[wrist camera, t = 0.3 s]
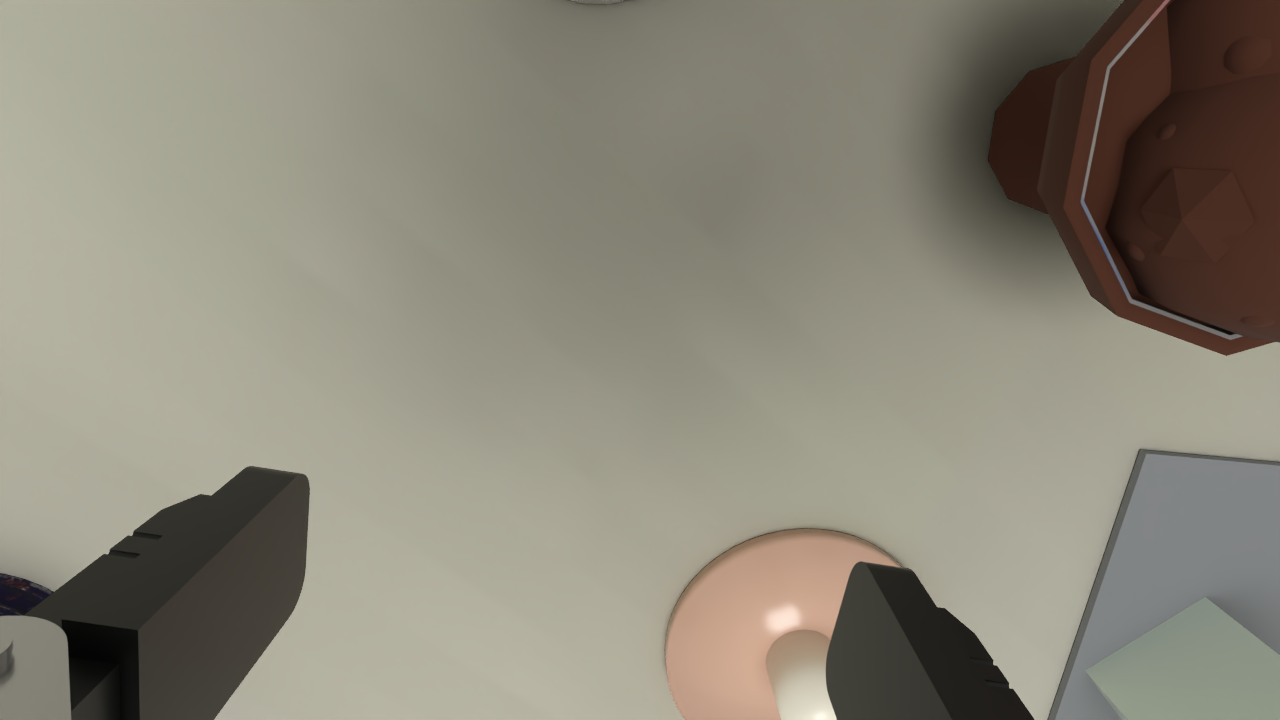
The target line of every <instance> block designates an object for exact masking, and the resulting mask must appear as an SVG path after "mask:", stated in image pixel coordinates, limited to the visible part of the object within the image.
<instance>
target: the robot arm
mask: <svg viewBox="0 0 1280 720" xmlns="http://www.w3.org/2000/svg"><path fill="white" fill-rule="evenodd" d="M570 1H574V2H578V3H582V4H613V3H617V2H622V1H626V0H570ZM309 495H310V488H309V481H308V478H307V477H306V475H304V474H300V473H293V472H287V471H280V470H274V469H267V468H261V467H254V466H249V467H246V468H245V469H243V470H242V471H241V472H240V473H239V474H237V475H236V476H235V477H234V478H233V479H231V480H230V481H229V482H228V483H226V484H225V485H224V486H223V487H222V488H220V489H219V490H218V491H217V492H215V493H214V494H213V495H212V496H209V495H202V494H200V495H197V496H195V497H192V498H190V499H187V500H185V501H182V502H180V503H177V504H175V505H172V506H170V507H168V508H165V509H163V510H161V511H159V512H158V513H157V514H156V515H154V516H153V517H152V518H150V519H149V520H148V521H146V522H145V523H144V524H142V525H141V526H140V527H139V528H137V529H136V530H135V531H134V533H133V535H132V536H127V537H125V538H124V539H123V540H122V541H120V542H119V543H118V544H116V545H115V546H114V547H112V548H111V549H110V552H109V554H108V555H107V554H103V555H102V556H101V557H99V558H98V559H97V560H95V561H94V562H93V563H92V564H90V565H89V566H88V567H86V568H85V569H84V570H82V571H81V572H80V573H78V574H77V575H76V576H75V577H73V578H72V579H71V580H69V581H68V582H67V583H65V584H64V585H63V586H61V587H60V588H59V589H58V590H56V591H55V592H54V593H52V594H51V595H50V596H48V597H47V598H46V599H44V600H43V601H42V602H41V603H39V604H38V605H37V606H35V607H34V608H33V609H31V610H30V611H29V612H27V613H26V614H25V615H24V616H0V720H214V719H215V717H216V716H217V714H218V713H219V712H220V710H221V709H222V708H223V706H224V705H225V704H226V702H227V701H228V700H229V698H230V697H231V695H232V694H233V693H234V691H235V690H236V689H237V687H238V686H239V685H240V683H241V682H242V681H243V679H244V678H245V676H246V675H247V674H248V672H249V671H250V670H251V668H252V667H253V666H254V664H255V663H256V662H257V660H258V659H259V657H260V656H261V655H262V653H263V652H264V651H265V649H266V648H267V647H268V645H269V644H270V643H271V641H272V640H273V639H274V637H275V636H276V634H277V633H278V632H279V630H280V629H281V628H282V626H283V625H284V624H285V622H286V621H287V620H288V618H289V617H290V615H291V614H292V612H293V610H294V608H295V606H296V604H297V601H298V599H299V596H300V593H301V590H302V586H303V582H304V577H305V568H306V550H307V532H308V513H309ZM826 685H827V691H828V695H829V698H830V701H831V704H832V707H833V710H834V713H835V715H836V718H837V720H1034V718H1033V717H1032V715H1031V714H1030V713H1029V711H1028V710H1027V708H1026V707H1025V705H1024V704H1023V702H1022V701H1021V700H1020V698H1019V697H1018V695H1017V694H1016V692H1015V691H1014V690H1013V689H1009V682H1008V681H1007V679H1006V678H1005V677H1004V675H1003V674H1002V672H1001V671H1000V669H999V668H998V667H997V666H995V665H993V659H992V658H991V656H990V655H989V654H988V652H987V651H986V649H985V648H984V646H983V645H982V644H981V642H980V641H979V639H978V638H977V636H976V635H975V633H973V632H972V631H971V630H970V629H969V628H967V627H966V626H965V625H964V624H963V623H961V622H960V621H959V620H958V619H957V618H956V617H954V616H953V615H952V614H951V613H950V612H948V611H947V610H946V609H945V608H938V607H936V605H935V603H934V602H933V600H932V599H931V597H930V596H929V594H928V593H927V591H926V590H925V588H924V587H923V585H922V584H921V582H920V581H919V579H918V577H917V576H916V574H915V573H914V572H913V571H912V570H911V569H908V568H901V567H895V566H888V565H882V564H875V563H869V562H862V561H860V562H858V563H856V564H855V565H854V567H853V568H852V570H851V573H850V576H849V579H848V582H847V586H846V589H845V592H844V596H843V599H842V603H841V606H840V610H839V613H838V617H837V620H836V623H835V627H834V630H833V634H832V637H831V641H830V644H829V648H828V652H827V658H826Z"/></svg>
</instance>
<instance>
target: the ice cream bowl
mask: <svg viewBox="0 0 1280 720" xmlns="http://www.w3.org/2000/svg"><path fill="white" fill-rule="evenodd" d="M988 161H989V163H990V165H991V167H992V169H993V171H994V173H995V174H996V176H997V178H998V180H999V182H1000V184H1001V186H1002V188H1003V190H1004V192H1005V194H1006V196H1007V197H1008V199H1010V200H1013V201H1016V202H1018V203H1021V204H1024V205H1026V206H1029V207H1031V208H1034V209H1037V210H1039V211H1042V212H1045V213H1047V214H1048V213H1049V214H1050V216H1051V218H1052V220H1053V222H1054V224H1055V226H1056V228H1057V230H1058V232H1059V234H1060V236H1061V238H1062V240H1063V242H1064V244H1065V246H1066V248H1067V250H1068V252H1069V254H1070V256H1071V258H1072V260H1073V262H1074V264H1075V266H1076V268H1077V270H1078V272H1079V274H1080V276H1081V278H1082V279H1083V281H1084V283H1085V285H1086V287H1087V289H1088V291H1089V293H1090V295H1091V296H1092V297H1093V298H1094V299H1096V300H1097V301H1098V302H1100V303H1101V304H1102V305H1104V306H1105V307H1106V308H1107V309H1109V310H1110V311H1111V312H1113V313H1114V314H1115V315H1117V316H1119V317H1121V318H1124V319H1127V320H1130V321H1132V322H1135V323H1138V324H1141V325H1143V326H1146V327H1149V328H1152V329H1154V330H1157V331H1160V332H1163V333H1165V334H1168V335H1171V336H1174V337H1176V338H1179V339H1182V340H1185V341H1187V342H1190V343H1193V344H1196V345H1198V346H1201V347H1204V348H1207V349H1209V350H1212V351H1215V352H1218V353H1220V354H1223V355H1226V356H1227V355H1230V354H1234V353H1237V352H1241V351H1244V350H1248V349H1251V348H1255V347H1258V346H1262V345H1265V344H1269V343H1272V342H1280V0H1124V2H1123V3H1122V4H1121V5H1120V6H1119V7H1118V9H1117V10H1116V11H1115V12H1114V13H1113V14H1112V16H1111V17H1110V18H1109V19H1108V20H1107V21H1106V23H1105V24H1104V25H1103V26H1102V27H1101V28H1100V30H1099V31H1098V32H1097V33H1096V34H1095V35H1094V37H1093V38H1092V39H1091V40H1090V41H1089V42H1088V44H1087V45H1086V46H1085V47H1084V48H1083V49H1082V51H1081V52H1080V53H1079V54H1078V55H1077V56H1076V57H1074V58H1070V59H1067V60H1064V61H1061V62H1057V63H1054V64H1051V65H1048V66H1045V67H1041V68H1038V69H1035V70H1032V71H1029V72H1028V74H1027V75H1026V76H1025V77H1024V78H1023V80H1022V81H1021V82H1020V83H1019V84H1018V85H1017V87H1016V88H1015V89H1014V90H1013V91H1012V93H1011V94H1010V95H1009V96H1008V97H1007V98H1006V100H1005V101H1004V102H1003V103H1002V104H1001V106H1000V107H999V108H998V109H997V110H996V112H995V119H994V125H993V131H992V138H991V144H990V150H989V157H988Z"/></svg>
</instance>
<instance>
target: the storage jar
mask: <svg viewBox="0 0 1280 720" xmlns="http://www.w3.org/2000/svg"><path fill="white" fill-rule="evenodd" d="M52 593H54V592H52V591H50V590H48V589H47V588H45V587H43V586H41V585H38V584H35V583H33V582H30V581H27V580H25V579H22V578H18V577H14V576H10V575H6V574H0V616H24V615H25V614H26V613H27V612H29V611H30V610H31V609H33V608H34V607H35V606H37V605H38V604H39V603H41V602H42V601H43V600H44V599H46V598H47V597H48V596H50V595H51V594H52Z"/></svg>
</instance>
